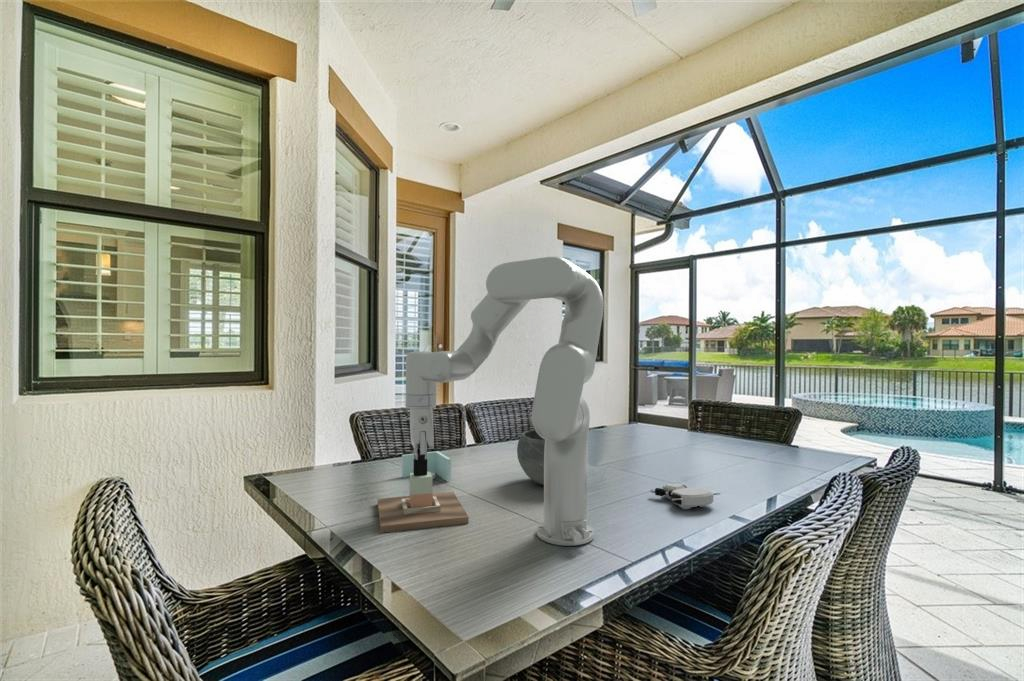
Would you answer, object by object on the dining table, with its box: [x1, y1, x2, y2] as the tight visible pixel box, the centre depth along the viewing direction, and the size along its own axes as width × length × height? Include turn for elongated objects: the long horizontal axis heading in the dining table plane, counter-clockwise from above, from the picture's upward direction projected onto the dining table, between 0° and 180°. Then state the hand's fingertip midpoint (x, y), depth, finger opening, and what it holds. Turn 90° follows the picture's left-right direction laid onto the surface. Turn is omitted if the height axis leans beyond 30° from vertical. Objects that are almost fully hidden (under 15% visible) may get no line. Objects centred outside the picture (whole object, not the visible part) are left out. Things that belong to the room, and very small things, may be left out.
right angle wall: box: [401, 450, 452, 483], centre depth 150 cm, size 12×12×8 cm
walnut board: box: [377, 491, 469, 534], centre depth 120 cm, size 20×20×3 cm
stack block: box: [409, 472, 433, 508], centre depth 120 cm, size 5×5×8 cm
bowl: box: [516, 429, 545, 486], centre depth 146 cm, size 21×21×15 cm
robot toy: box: [649, 483, 721, 510], centre depth 128 cm, size 12×4×15 cm
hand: (420, 474), depth 120 cm, fingers closed
